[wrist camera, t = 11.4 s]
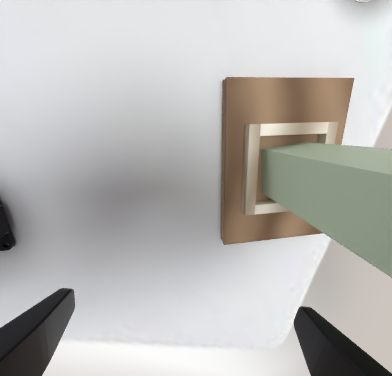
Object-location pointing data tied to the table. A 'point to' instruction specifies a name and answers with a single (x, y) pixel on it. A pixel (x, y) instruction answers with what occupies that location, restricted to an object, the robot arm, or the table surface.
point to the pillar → (336, 193)
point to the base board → (272, 137)
